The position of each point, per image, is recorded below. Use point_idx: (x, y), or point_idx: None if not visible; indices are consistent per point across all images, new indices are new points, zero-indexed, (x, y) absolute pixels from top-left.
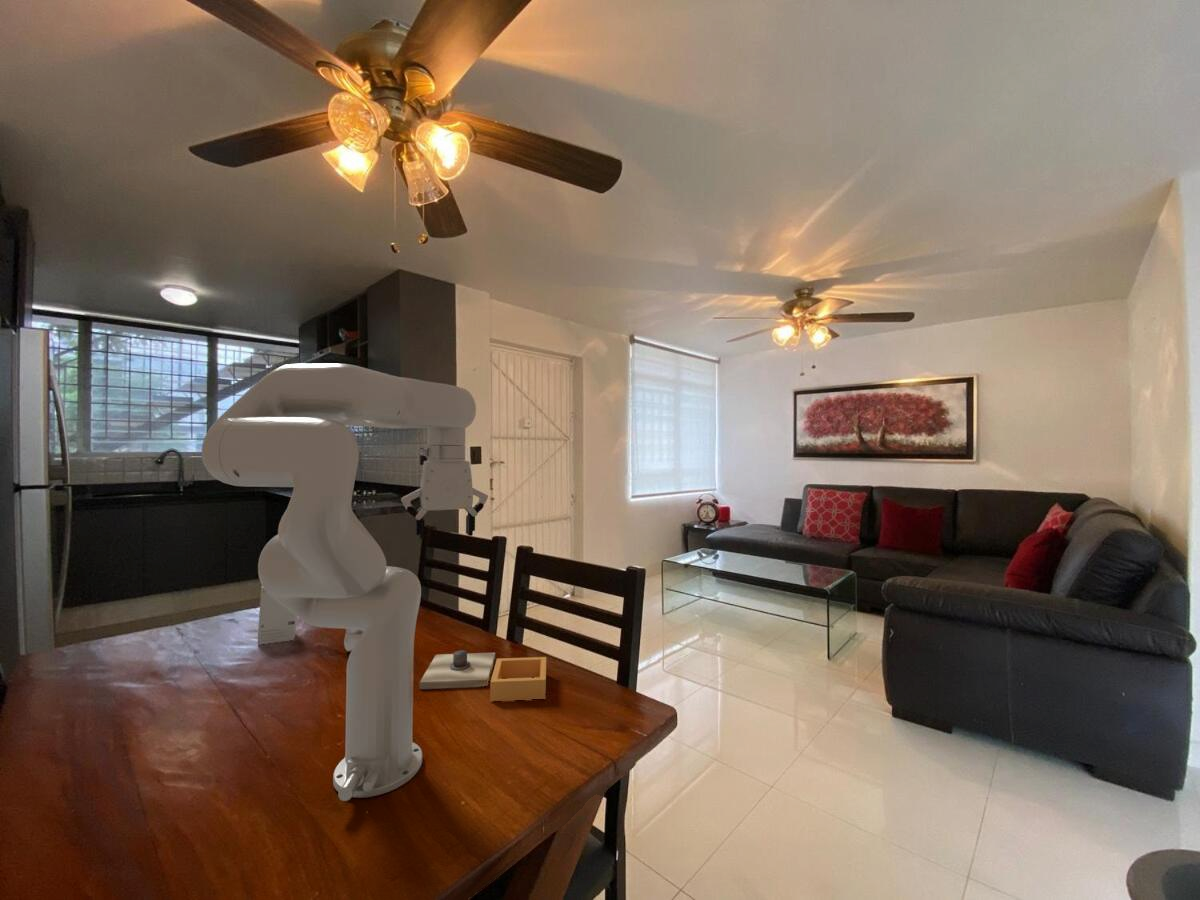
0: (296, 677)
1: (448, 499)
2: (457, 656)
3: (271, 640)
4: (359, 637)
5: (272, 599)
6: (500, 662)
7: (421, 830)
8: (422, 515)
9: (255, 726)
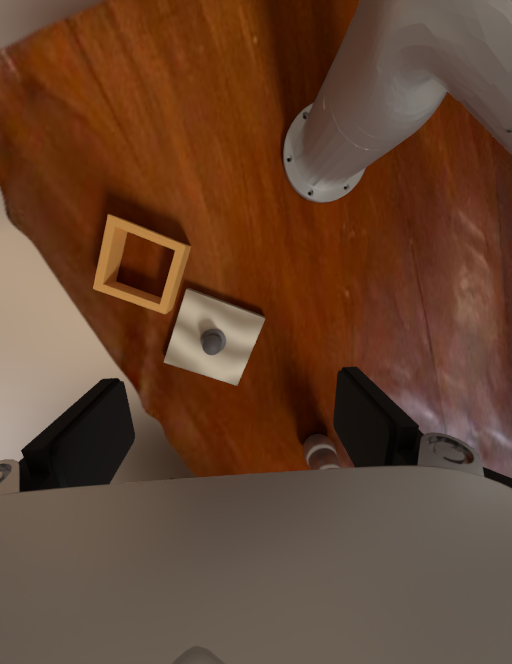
0: None
1: (204, 657)
2: (216, 339)
3: None
4: (321, 444)
5: None
6: (162, 299)
7: (300, 14)
8: (428, 460)
9: (417, 307)
